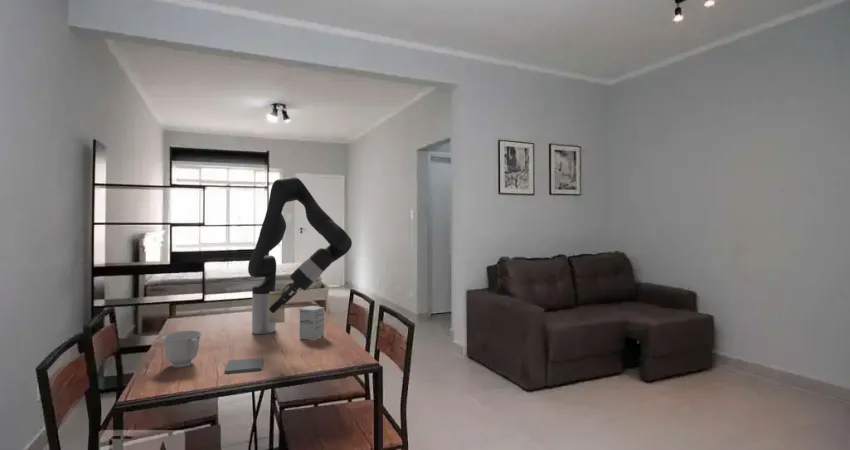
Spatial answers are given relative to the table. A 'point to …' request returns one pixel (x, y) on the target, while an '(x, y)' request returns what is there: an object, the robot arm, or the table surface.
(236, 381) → the table surface
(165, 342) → the teacup
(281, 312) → the beech block
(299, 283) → the robot arm
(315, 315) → the supplement box
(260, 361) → the slate coaster
